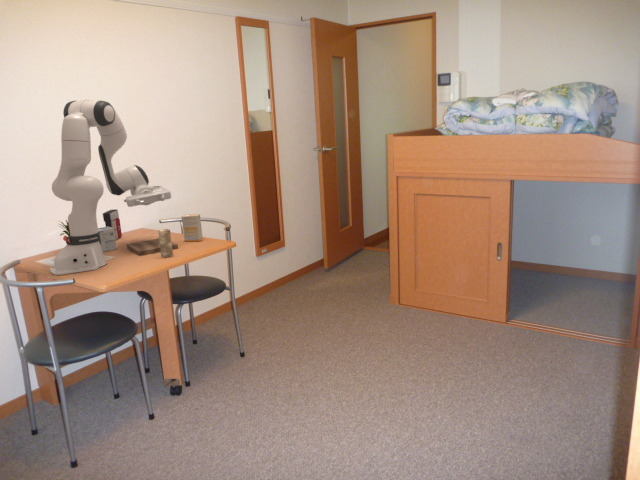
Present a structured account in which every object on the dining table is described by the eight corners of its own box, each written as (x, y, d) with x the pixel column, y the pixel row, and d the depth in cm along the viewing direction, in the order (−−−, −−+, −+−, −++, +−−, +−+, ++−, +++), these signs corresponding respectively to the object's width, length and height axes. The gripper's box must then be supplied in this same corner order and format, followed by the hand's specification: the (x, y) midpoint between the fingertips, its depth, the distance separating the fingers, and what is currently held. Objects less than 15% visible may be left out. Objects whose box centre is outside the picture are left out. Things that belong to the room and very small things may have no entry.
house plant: (49, 254, 257) (43, 221, 253) (68, 247, 270) (63, 215, 266) (75, 255, 254) (70, 220, 250) (93, 247, 267) (88, 215, 263)
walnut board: (140, 255, 246) (139, 251, 246) (127, 248, 262) (126, 244, 262) (178, 248, 256) (177, 244, 256) (163, 241, 272) (162, 237, 272)
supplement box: (203, 239, 273) (200, 213, 270) (200, 241, 268) (197, 215, 265) (187, 239, 274) (184, 214, 271) (184, 241, 269) (181, 216, 266)
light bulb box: (111, 247, 266) (108, 225, 263) (117, 249, 261) (114, 227, 258) (89, 252, 259) (86, 229, 256) (95, 254, 254) (92, 231, 251)
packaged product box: (115, 241, 277) (110, 213, 274) (106, 242, 277) (102, 213, 274) (122, 236, 288) (119, 209, 284) (114, 237, 288) (110, 209, 285)
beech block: (164, 257, 240) (161, 231, 238) (161, 256, 244) (158, 230, 241) (173, 256, 243) (170, 229, 240) (169, 254, 246) (166, 228, 243)
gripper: (121, 193, 252) (127, 199, 241) (165, 185, 262) (173, 190, 250) (124, 206, 254) (130, 212, 243) (167, 197, 264) (175, 203, 252)
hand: (152, 201), depth 247 cm, fingers open, 8 cm apart
